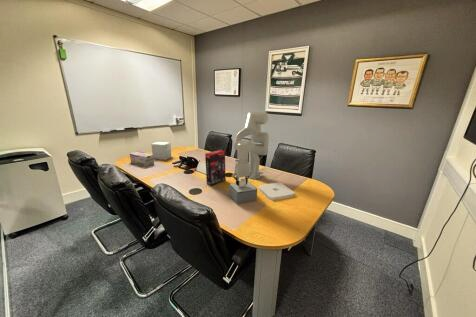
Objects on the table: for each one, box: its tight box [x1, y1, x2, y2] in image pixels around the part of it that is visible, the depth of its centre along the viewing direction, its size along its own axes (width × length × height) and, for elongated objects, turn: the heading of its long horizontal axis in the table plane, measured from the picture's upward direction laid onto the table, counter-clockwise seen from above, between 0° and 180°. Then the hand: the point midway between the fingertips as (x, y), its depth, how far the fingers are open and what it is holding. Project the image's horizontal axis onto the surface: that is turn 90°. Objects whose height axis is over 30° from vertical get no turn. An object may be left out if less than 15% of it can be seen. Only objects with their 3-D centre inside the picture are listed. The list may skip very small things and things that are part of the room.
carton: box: [228, 185, 258, 205], centre depth 142 cm, size 16×14×8 cm
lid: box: [229, 181, 258, 193], centre depth 141 cm, size 16×14×1 cm
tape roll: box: [239, 177, 246, 187], centre depth 139 cm, size 6×6×5 cm
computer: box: [257, 182, 295, 201], centre depth 153 cm, size 22×22×3 cm
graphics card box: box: [204, 149, 226, 187], centre depth 164 cm, size 17×7×27 cm, turn 138°
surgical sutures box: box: [129, 151, 155, 168], centre depth 210 cm, size 25×11×11 cm, turn 59°
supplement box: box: [150, 141, 172, 161], centre depth 230 cm, size 17×13×18 cm
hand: (241, 184), depth 140 cm, fingers closed on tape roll, 6 cm apart
